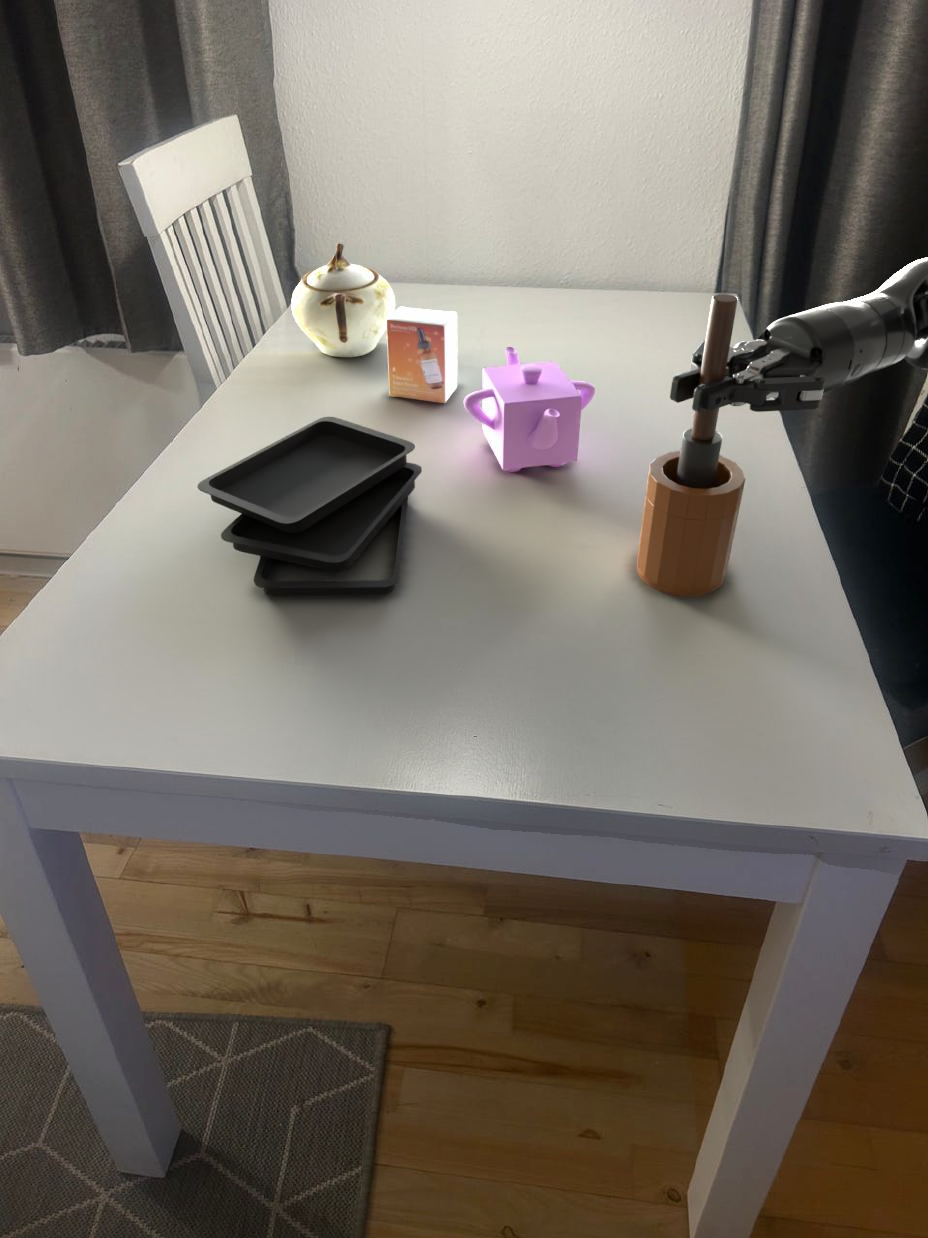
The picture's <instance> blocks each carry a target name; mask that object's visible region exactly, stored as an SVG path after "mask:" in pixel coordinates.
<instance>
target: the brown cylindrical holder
mask: <svg viewBox="0 0 928 1238" xmlns="http://www.w3.org/2000/svg"><path fill="white" fill-rule="evenodd" d="M679 457H680V450H675V451H669V452H666V453H664V454H662V455H659V456H657V457H655V458H654V459H653V460H652V461H651V462H650V464H649V465H648V472H647V473H648V474H647V482H646V488H645V498H644V504H643V512H642V519H641V527H640V535H639V542H638V549H637V563H636V572H637V575H638V576H639V578H640V579H641V580H642V582H644V584H645V585H647V586H649V587H650V588H652V589H654V590H656V591H658V592H660V593H664V594H667V595H672V596H675V597H676V596H677V597H700V596H704V595H708V594H711V593H713V592H715V591H717V590H718V589H719V588H720V587H721V586H722V585H723V584H724V581H725V578H726V575H727V572H728V567H729V562H730V558H731V557H730V556H731V552H732V548H733V547H732V546H733V542H734V539H735V533H736V528H737V523H738V519H739V513H740V508H741V502H742V498H743V494H744V487H745V483H746V475H745V471H744V469H743V468H742V467H741V466H740V465H739V464H738V463H737V462H736V461H734V460H732V459H729V458H727V457H726V456H723V455H719V461H718V466H717V472H716V478H715V483H714V488H709V489H698V488H690V487H686V486H682V485H678V484H676V477H677V470H678V464H679Z"/></svg>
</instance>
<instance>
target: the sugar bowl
mask: <svg viewBox="0 0 928 1238" xmlns="http://www.w3.org/2000/svg"><path fill="white" fill-rule="evenodd" d="M344 248H345V245H344V243H342V242H337V243H336V245H335V252H334V254H333V256H332V258H331V260H330V261H328V263H327V264H325V265H323V266H320V267H319V268H315V269H313V270H311V271H308V272H307V273H305V274H304V275H303V276H302V278H301V279H300V282H299V283H298V284H297V286H296V287H295V289H294V290H293V292H292V296H291V301H290V302H291V303H290V304H291V305H290V306H291V312H292V316H293V318H294V321H295V322H296V324H297V325H298V326H299V328H300V329H301V331H303V333H304V334H305V335H306V336H307V337H308V338H309V339H310V340H311V341H312V342H313V343H314V344H315V345H316V347H318V349H319V350H320V352H322V353H323V354H325V355H327V356H331V357H335V358H355V357H360V356H364V355H368V354H369V353H371V352H372V351H374V350H375V349H376V347H377V345H378V343H379V341H380V340H381V338H382V337H383V335H384V334H385V332H386V331H387V324H386V321H387V319H388V318H389V317H390V316H391V315H392V314H393V313H394V312H395V311H396V310H395V309H396V297H395V293H394V291H393V288H392V287H391V285H390V283H389V282H388V280H386V279H385V278H384V277H383V276H381V275H380V274H379V272H378V271H377V270H375V269H374V268H371V267H369V266H364V265H359V264H354V263H350V262H349V261H348V260H347V258H346V256H345V255H343V251H344Z"/></svg>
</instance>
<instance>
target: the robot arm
mask: <svg viewBox="0 0 928 1238" xmlns="http://www.w3.org/2000/svg"><path fill="white" fill-rule="evenodd" d="M705 340H706V337H705V338H704V339H703V340H702V341H701V343H700V344H699V345H698V347H697V348H696V349H695V350H694V351H693V352H692V354H691V361H690V365H689V366H690V368H689V370H688V371H684V372H682V373H678V374H675V375H674V376H673V377H672V380H671V386H670V387H671V388H670V392H669V398H670V400H671V401H673V402H675V403H678V404H679V403H683V402H685V401H688V400H691V399H692V405H691V409H692V411H694V412H695V411H696V412H698V413H703V412H706V411H709V410H714V409H717V408H719V409H720V408H723V407H725V406H732V407H741V406H744V405H746V404H747V405H749V410H750V411H752V412H755V413H762V412H763V413H765V412H782V411H802V410H803V411H804V410H816V409H819V408H820V405H821V401H822V398H823V394H825V393H828V392H830V391H833V390H836V389H839V388H841V387H843V386H847V385H849V384H851V383H854V382H855V381H858V380H859V379H860V378H862V377H864V376H865V375H868V374H871V373H874V372H876V371H879V370H883V369H885V368H888V367H890V366H893V365H895V364H897V363H898V362H900V361H902V360H903V359H904V360H905V361H906V363H908V364H909V365H910V366H912V367H914V368H916V369H920V370H927V371H928V257H924V258H921V259H917V260H915V261H913V262H911V263H909V264H907V265H906V266H904V267H903V268H902V269H900V270H899V271H897V272H896V273H894V274H893V275H892V276H891V277H889V279H887V280H886V281H885V282H884V283H883V284H882V285H881V286H880V287H879V288H878V289H876V290H875V291H873V292H871V293H869V294H866V295H864V296H860V297H857V298H853V299H851V300H847V301H843V302H842V301H840V302H833V303H827V304H824V305H821V306H818V307H814V308H811V309H808V310H805V311H801V312H797V313H795V314H790V315H788V316H784V317H782V318H779V319H777V320H775V321H773V322H772V323H770V324H769V325H768V326H767V327H766V328H765V330H764V331H763V332H762V333H761V334H760V336H758V338H756V339H754V340H745V341H744V340H743V341H739V342H737V343H736V344H735V345H733V346H730V348H729V354H728V360H727V366H726V371H725V377H723V378H721V379H717V380H714V381H711V382H708V383H705V384H702V385H699V379H700V373H701V366H702V360H703V353H704V347H705ZM771 398H773V399H771Z"/></svg>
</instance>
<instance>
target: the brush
mask: <svg viewBox="0 0 928 1238" xmlns="http://www.w3.org/2000/svg"><path fill="white" fill-rule="evenodd" d="M738 300H739V299H738V297H737V296H735V295H734V294H733V295H732V294H728V293H719V294H714V295H713V296H712V297H711V303H710V309H709V314H708V321H707V327H706V335H705V338H706V340H705V347H704V353H703V360H702V366H701V373H700V379H699V385H702V384H705V383H708V382H711V381H714V380H717V379H721V378H723V377H725V371H726V366H727V360H728V354H729V348H730V347H731V341H732V336H733V329H734V323H735V319H736V312H737V308H738V307H737V306H738ZM719 412H720V408H717V409H714V410H709V411H706V412H703V413H698V412H696V411H694V413H693V419H692V424H691V425H692V426H691V428H688V429H686V430H685V431H684V432H683V433H682V438H681V443H680V450H679V451H680V457H679V464H678V470H677V477H676V484H678V485H682V486H686V487H690V488H698V489H709V488H714V483H715V478H716V472H717V466H718V461H719V455H720V454H721V449H722V445H723V444H722V443H723V435H722V434H721V433H720V432H718V431H716V429H717V423H718V419H719ZM720 456H721V455H720Z"/></svg>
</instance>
